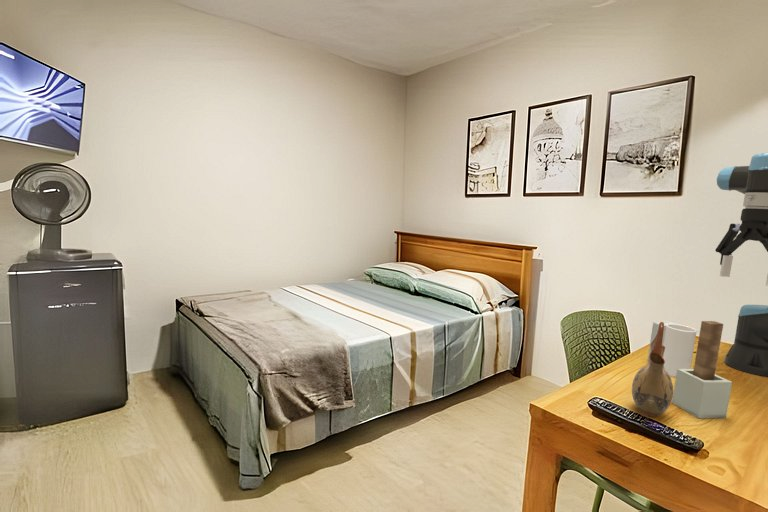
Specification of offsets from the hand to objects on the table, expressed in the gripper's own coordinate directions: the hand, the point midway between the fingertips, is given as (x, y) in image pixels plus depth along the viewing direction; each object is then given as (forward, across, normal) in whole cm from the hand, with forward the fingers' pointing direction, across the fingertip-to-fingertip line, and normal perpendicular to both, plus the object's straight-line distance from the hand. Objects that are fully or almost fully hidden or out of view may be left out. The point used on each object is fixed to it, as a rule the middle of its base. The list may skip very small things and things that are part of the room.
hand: (746, 280), depth 121 cm
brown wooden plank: (+34, +10, -20) cm, 41 cm away
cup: (+35, -14, -5) cm, 38 cm away
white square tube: (+35, +10, -20) cm, 41 cm away
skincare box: (+35, -22, -2) cm, 41 cm away
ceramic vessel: (+35, +11, -36) cm, 51 cm away
